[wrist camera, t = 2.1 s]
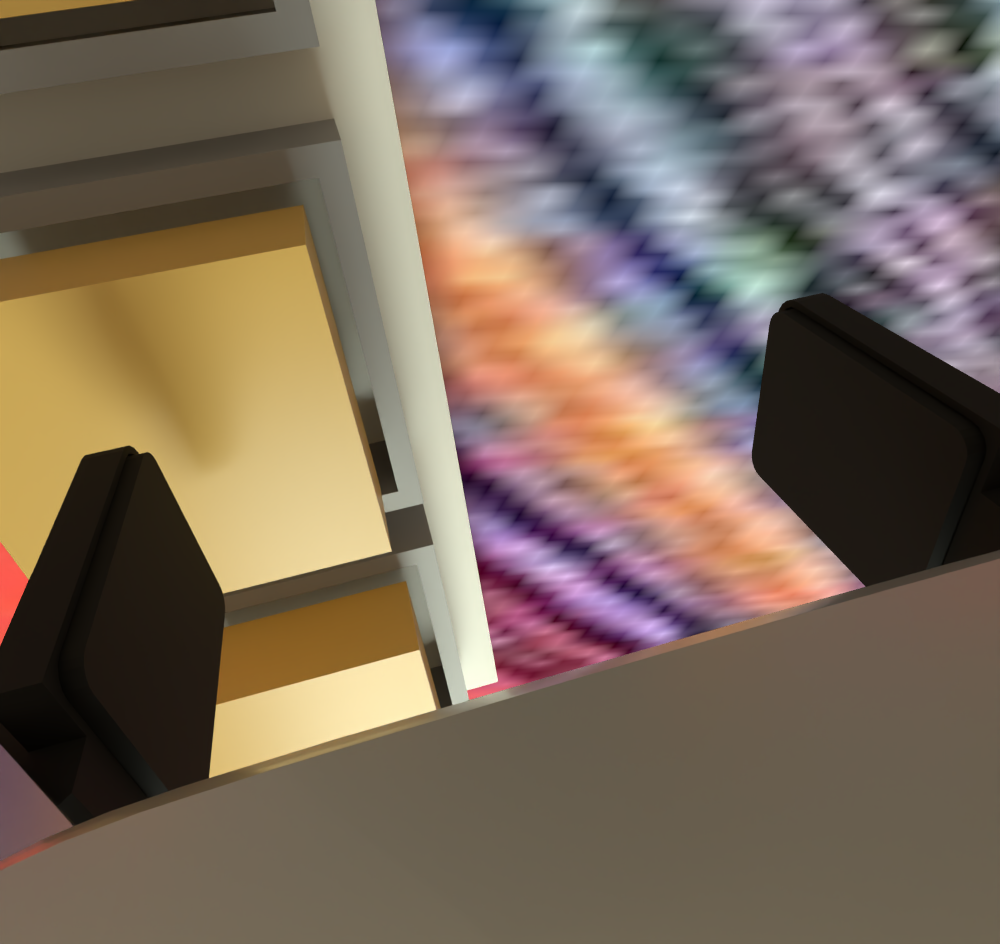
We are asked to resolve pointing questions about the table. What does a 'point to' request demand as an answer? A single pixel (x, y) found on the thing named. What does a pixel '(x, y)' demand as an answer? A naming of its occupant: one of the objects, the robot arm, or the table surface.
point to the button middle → (190, 392)
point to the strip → (253, 189)
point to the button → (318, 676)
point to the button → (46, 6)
